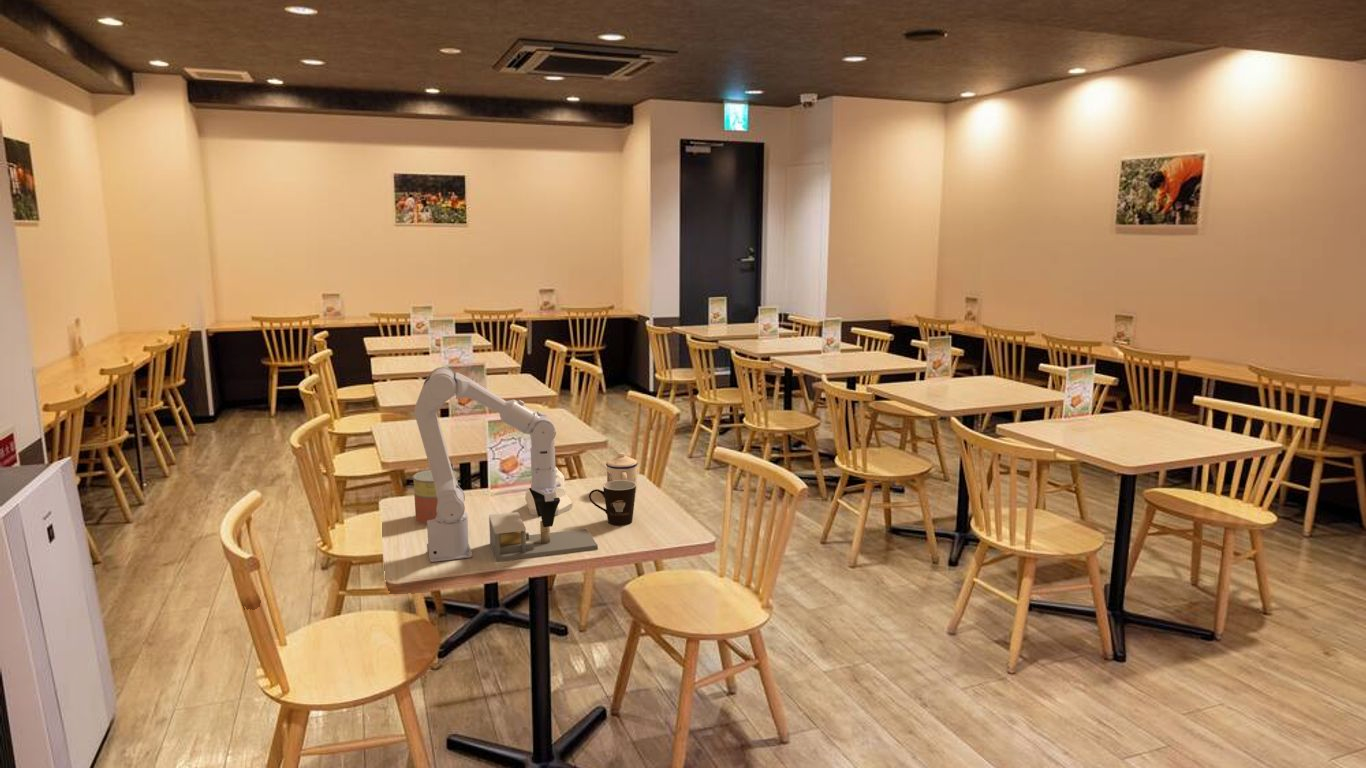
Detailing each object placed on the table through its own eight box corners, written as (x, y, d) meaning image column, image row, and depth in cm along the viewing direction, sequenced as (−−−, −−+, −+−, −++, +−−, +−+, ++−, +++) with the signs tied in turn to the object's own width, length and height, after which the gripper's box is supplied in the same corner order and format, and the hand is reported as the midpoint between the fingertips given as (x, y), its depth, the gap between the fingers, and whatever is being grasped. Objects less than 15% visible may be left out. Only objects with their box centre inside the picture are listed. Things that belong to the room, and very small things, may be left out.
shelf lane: (496, 561, 198) (495, 531, 197) (490, 543, 210) (489, 515, 208) (597, 549, 206) (597, 520, 205) (586, 532, 217) (586, 504, 216)
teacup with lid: (604, 487, 254) (604, 449, 252) (635, 486, 255) (635, 448, 253) (609, 500, 242) (608, 460, 240) (641, 498, 244) (640, 459, 242)
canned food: (457, 524, 223) (455, 480, 221) (412, 526, 221) (409, 482, 219) (461, 510, 234) (459, 467, 232) (418, 512, 232) (416, 469, 230)
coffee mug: (642, 519, 227) (642, 482, 225) (626, 529, 219) (626, 491, 218) (604, 512, 232) (603, 477, 230) (587, 522, 224) (586, 485, 222)
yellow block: (500, 550, 202) (499, 530, 201) (498, 543, 207) (497, 523, 206) (551, 544, 206) (551, 524, 205) (548, 537, 210) (547, 517, 210)
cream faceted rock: (584, 508, 240) (590, 464, 235) (547, 528, 228) (553, 482, 223) (550, 490, 246) (556, 447, 240) (513, 509, 234) (518, 463, 228)
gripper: (565, 473, 199) (567, 529, 201) (554, 457, 212) (555, 509, 215) (535, 476, 197) (537, 532, 199) (525, 460, 210) (527, 513, 213)
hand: (545, 521), depth 207 cm, fingers open, 7 cm apart
